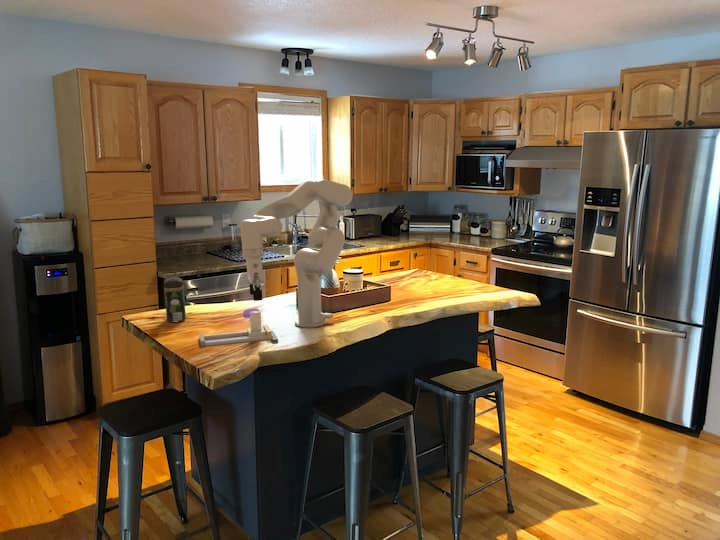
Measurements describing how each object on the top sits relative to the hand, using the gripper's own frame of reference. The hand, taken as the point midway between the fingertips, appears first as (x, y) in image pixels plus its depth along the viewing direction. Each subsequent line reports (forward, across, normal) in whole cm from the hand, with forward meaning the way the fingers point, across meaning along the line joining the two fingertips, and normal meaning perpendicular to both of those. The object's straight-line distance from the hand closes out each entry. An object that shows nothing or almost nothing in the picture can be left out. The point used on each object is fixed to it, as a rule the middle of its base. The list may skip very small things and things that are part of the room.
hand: (256, 297), depth 222 cm
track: (+16, -1, +8) cm, 18 cm away
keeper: (+15, -1, +1) cm, 15 cm away
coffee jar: (+17, +39, +30) cm, 52 cm away
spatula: (+18, +27, -1) cm, 32 cm away
